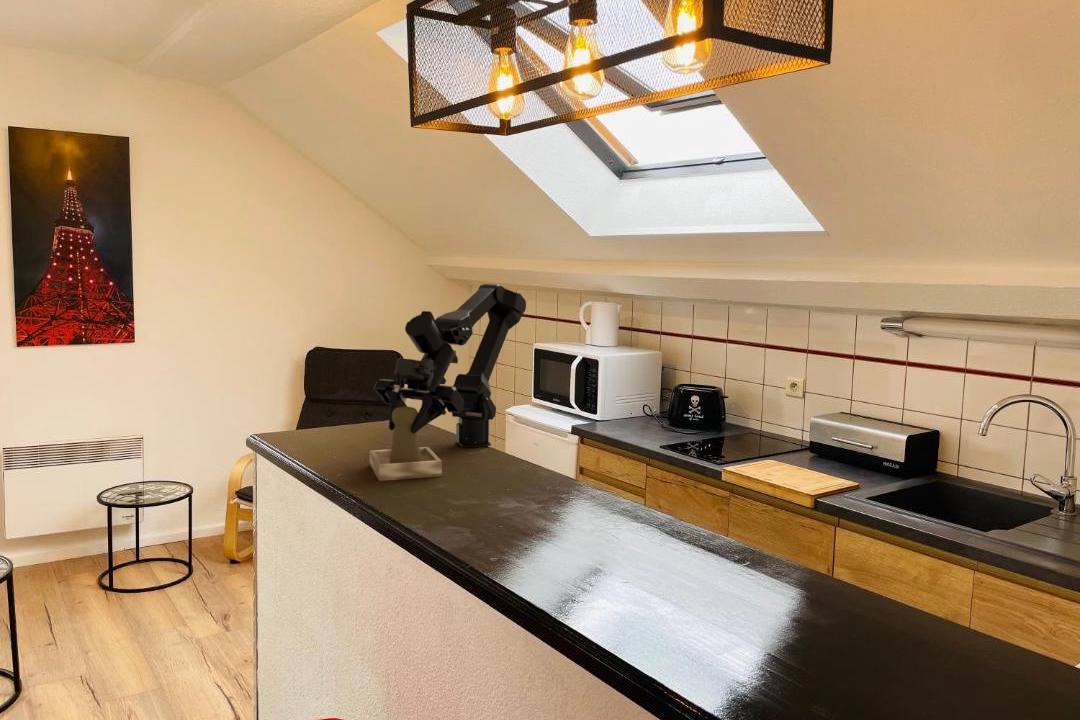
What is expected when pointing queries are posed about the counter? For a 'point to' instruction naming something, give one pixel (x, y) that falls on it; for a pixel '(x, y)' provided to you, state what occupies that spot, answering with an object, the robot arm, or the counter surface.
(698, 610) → the counter surface
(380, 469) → the birch tray
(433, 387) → the robot arm
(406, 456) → the olive pepper mill
